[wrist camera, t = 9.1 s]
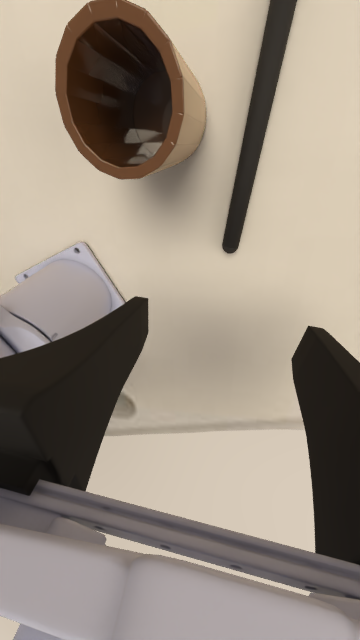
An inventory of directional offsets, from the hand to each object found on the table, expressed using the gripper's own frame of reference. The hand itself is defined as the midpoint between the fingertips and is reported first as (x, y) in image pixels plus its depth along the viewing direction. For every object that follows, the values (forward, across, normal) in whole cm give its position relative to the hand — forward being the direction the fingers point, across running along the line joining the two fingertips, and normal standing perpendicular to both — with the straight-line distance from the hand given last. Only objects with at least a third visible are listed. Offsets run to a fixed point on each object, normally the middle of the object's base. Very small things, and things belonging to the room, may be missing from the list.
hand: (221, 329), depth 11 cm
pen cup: (+10, +5, -8) cm, 14 cm away
